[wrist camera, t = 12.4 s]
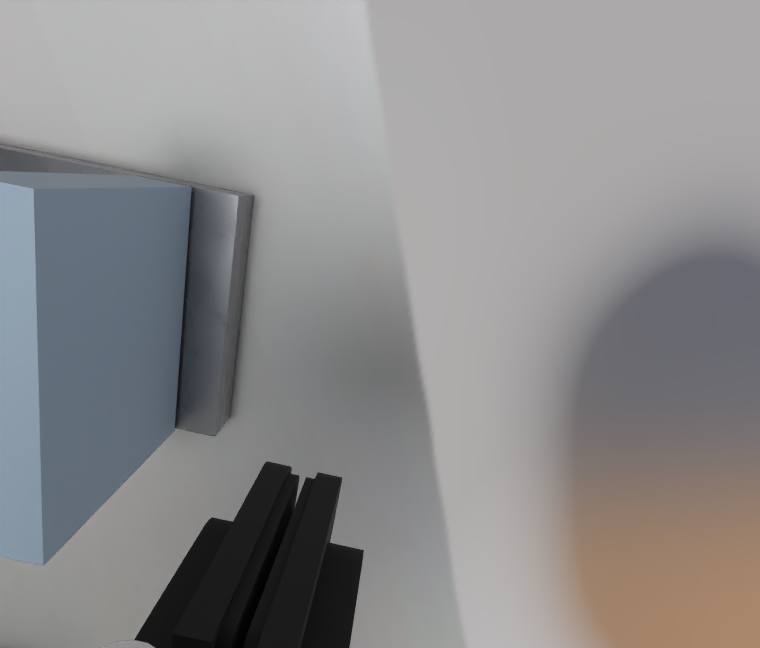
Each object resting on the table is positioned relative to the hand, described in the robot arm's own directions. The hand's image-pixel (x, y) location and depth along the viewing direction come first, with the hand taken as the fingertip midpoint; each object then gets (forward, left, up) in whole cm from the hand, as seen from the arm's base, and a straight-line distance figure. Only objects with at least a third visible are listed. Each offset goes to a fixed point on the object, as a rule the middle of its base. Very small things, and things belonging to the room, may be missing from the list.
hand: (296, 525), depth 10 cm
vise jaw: (-1, +10, -12) cm, 15 cm away
